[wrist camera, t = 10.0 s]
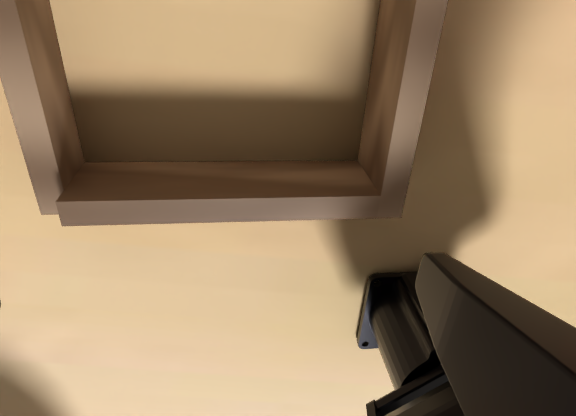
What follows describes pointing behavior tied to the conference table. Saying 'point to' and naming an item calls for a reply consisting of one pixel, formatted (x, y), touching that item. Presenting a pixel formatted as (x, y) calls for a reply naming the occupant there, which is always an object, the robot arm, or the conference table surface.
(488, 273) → the conference table surface
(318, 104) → the conference table surface
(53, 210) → the wooden square frame
